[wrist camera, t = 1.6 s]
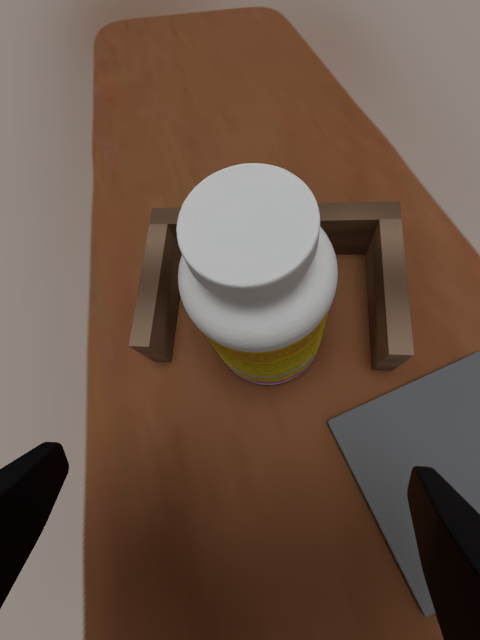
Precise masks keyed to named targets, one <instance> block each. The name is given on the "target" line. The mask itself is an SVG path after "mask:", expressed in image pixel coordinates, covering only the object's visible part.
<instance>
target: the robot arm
mask: <svg viewBox="0 0 480 640" xmlns="http://www.w3.org/2000/svg"><path fill="white" fill-rule="evenodd" d="M68 470H69V464H68V461H67V458H66V456H65V452H64V450H63V447H62V445H61V444H60V443H57V442H44V443H42V444H41V445H39V446H37V447H35V448H34V449H32V450H31V451H29V452H28V453H26V454H24V455H23V456H21V457H19V458H18V459H16V460H15V461H13V462H11V463H10V464H8V465H6V466H5V467H3V468H2V469H0V608H1V606H2V604H3V603H4V601H5V599H6V597H7V595H8V594H9V592H10V590H11V588H12V586H13V584H14V583H15V581H16V579H17V577H18V575H19V573H20V571H21V569H22V568H23V566H24V564H25V562H26V560H27V559H28V557H29V555H30V553H31V551H32V549H33V548H34V546H35V544H36V542H37V540H38V538H39V536H40V534H41V533H42V531H43V528H44V526H45V524H46V522H47V520H48V518H49V515H50V513H51V511H52V508H53V506H54V504H55V501H56V499H57V497H58V494H59V492H60V490H61V488H62V485H63V483H64V480H65V478H66V476H67V474H68ZM407 498H408V504H409V508H410V513H411V518H412V523H413V528H414V533H415V537H416V542H417V547H418V552H419V557H420V561H421V566H422V570H423V574H424V577H425V581H426V584H427V587H428V590H429V594H430V597H431V600H432V603H433V606H434V609H435V613H436V616H437V619H438V622H439V625H440V628H441V632H442V635H443V638H444V640H480V514H479V513H478V512H477V511H476V510H475V509H474V508H473V507H472V506H471V505H470V504H469V503H468V502H467V501H466V500H465V499H464V498H463V497H462V496H461V495H460V494H459V493H458V492H457V491H456V490H455V489H454V488H453V487H452V486H451V485H450V484H449V483H448V482H447V481H446V480H445V479H444V478H443V477H442V476H441V475H440V474H439V473H438V472H437V471H436V470H435V469H433V468H432V467H426V466H414V467H413V468H412V471H411V475H410V480H409V484H408V489H407Z"/></svg>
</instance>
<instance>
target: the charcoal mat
mask: <svg viewBox="0 0 480 640" xmlns="http://www.w3.org/2000/svg"><path fill="white" fill-rule="evenodd" d="M326 422H327V424H328V426H329V428H330V430H331V432H332V434H333V436H334V438H335V440H336V442H337V444H338V446H339V448H340V450H341V452H342V454H343V455H344V457H345V459H346V461H347V463H348V465H349V467H350V469H351V471H352V473H353V475H354V477H355V479H356V481H357V483H358V485H359V487H360V489H361V491H362V493H363V495H364V497H365V499H366V501H367V503H368V505H369V507H370V509H371V511H372V513H373V515H374V517H375V519H376V521H377V523H378V525H379V527H380V529H381V531H382V533H383V535H384V537H385V539H386V541H387V543H388V545H389V547H390V549H391V551H392V553H393V555H394V557H395V559H396V561H397V563H398V565H399V567H400V569H401V571H402V573H403V575H404V577H405V579H406V581H407V583H408V585H409V587H410V589H411V591H412V593H413V595H414V597H415V599H416V601H417V603H418V605H419V607H420V609H421V611H422V613H423V615H424V616H425V617H429V616H431V615H433V614H435V609H434V606H433V603H432V600H431V597H430V594H429V590H428V587H427V584H426V581H425V577H424V574H423V570H422V566H421V561H420V557H419V552H418V547H417V542H416V537H415V533H414V528H413V523H412V518H411V513H410V508H409V504H408V498H407V489H408V484H409V480H410V475H411V471H412V468H413V467H414V466H426V467H432V468H433V469H435V470H436V471H437V472H438V473H439V474H440V475H441V476H442V477H443V478H444V479H445V480H446V481H447V482H448V483H449V484H450V485H451V486H452V487H453V488H454V489H455V490H456V491H457V492H458V493H459V494H460V495H461V496H462V497H463V498H464V499H465V500H466V501H467V502H468V503H469V504H470V505H471V506H472V507H473V508H474V509H475V510H476V511H477V512H478V513H479V514H480V351H479V352H476V353H474V354H472V355H470V356H468V357H466V358H463V359H461V360H459V361H457V362H455V363H453V364H450V365H448V366H446V367H444V368H442V369H439V370H437V371H435V372H433V373H431V374H429V375H426V376H424V377H422V378H420V379H418V380H415V381H413V382H411V383H409V384H407V385H405V386H402V387H400V388H398V389H396V390H394V391H391V392H389V393H387V394H385V395H383V396H381V397H378V398H376V399H374V400H372V401H370V402H367V403H365V404H363V405H361V406H359V407H357V408H354V409H352V410H350V411H348V412H346V413H344V414H341V415H339V416H337V417H335V418H333V419H330V420H328V421H326Z"/></svg>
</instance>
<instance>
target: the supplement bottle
mask: <svg viewBox="0 0 480 640" xmlns="http://www.w3.org/2000/svg"><path fill="white" fill-rule="evenodd" d="M176 232H177V240H178V245H179V248H180V251H181V253H182V256H181V259H180V263H179V270H178V286H179V292H180V297H181V300H182V303H183V305H184V307H185V310H186V311H187V313H188V315H189V317H190V318H191V319H192V321H193V322H194V323H195V325H196V326H197V327H198V329H199V330H200V331H201V332H202V334H203V335H204V336H205V337H206V339H207V340H208V341H209V343H210V344H211V345H212V346H213V348H214V349H215V350H216V352H217V353H218V354H219V356H220V357H221V358H222V360H223V361H224V362H225V363H226V365H227V366H228V367H229V368H230V369H231V370H232V371H233V372H234V373H236V374H237V375H238V376H240V377H241V378H243V379H245V380H247V381H250V382H253V383H257V384H262V385H275V384H280V383H284V382H287V381H290V380H292V379H294V378H295V377H297V376H299V375H300V374H301V373H303V372H304V371H305V370H306V369H307V368H308V367H309V366H310V364H311V363H312V362H313V360H314V358H315V357H316V354H317V352H318V350H319V347H320V344H321V340H322V337H323V333H324V329H325V326H326V322H327V319H328V316H329V312H330V308H331V305H332V302H333V299H334V295H335V291H336V287H337V279H338V267H337V260H336V255H335V252H334V249H333V246H332V244H331V242H330V240H329V238H328V236H327V235H326V233H325V232H324V230H323V229H322V228H321V227H320V212H319V207H318V204H317V201H316V199H315V197H314V195H313V193H312V192H311V190H310V189H309V188H308V186H307V185H306V184H305V183H304V182H303V181H302V180H301V179H299V178H298V177H297V176H295V175H294V174H292V173H290V172H289V171H287V170H285V169H282V168H280V167H277V166H273V165H268V164H260V163H247V164H239V165H234V166H231V167H227V168H224V169H222V170H220V171H217V172H215V173H213V174H212V175H210V176H208V177H207V178H205V179H204V180H203V181H202V182H200V183H199V184H198V185H197V186H196V187H195V188H194V189H193V190H192V191H191V193H190V194H189V195H188V197H187V198H186V200H185V201H184V203H183V205H182V207H181V210H180V212H179V215H178V220H177V228H176Z"/></svg>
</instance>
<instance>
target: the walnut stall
mask: <svg viewBox="0 0 480 640" xmlns="http://www.w3.org/2000/svg"><path fill="white" fill-rule="evenodd" d="M318 207H319V212H320V227H321V228H322V229H323V230H324V232H325V233H326V235H327V236H328V238H329V240H330V242H331V244H332V246H333V249H334V252H335V254H366V270H367V289H368V308H369V326H370V345H371V363H372V370H394V369H395V368H397V367H398V366H399V365H401V364H402V363H404V362H405V361H407V360H408V359H409V358H411V357H412V356H414V348H413V338H412V327H411V316H410V306H409V295H408V284H407V273H406V263H405V252H404V241H403V231H402V220H401V209H400V201H398V202H362V203H326V204H318ZM180 210H181V208H152V212H151V218H150V224H149V230H148V236H147V241H146V247H145V253H144V259H143V265H142V271H141V277H140V282H139V288H138V294H137V300H136V306H135V312H134V318H133V323H132V329H131V335H130V341H129V347H131V348H133V349H134V350H136V351H138V352H139V353H141V354H143V355H144V356H146V357H148V358H149V359H151V360H153V361H161V362H171V360H172V352H173V345H174V337H175V329H176V321H177V314H178V306H179V298H180V292H179V286H178V270H179V263H180V259H181V256H182V253H181V251H180V248H179V245H178V240H177V232H176V228H177V220H178V215H179V212H180Z"/></svg>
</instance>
